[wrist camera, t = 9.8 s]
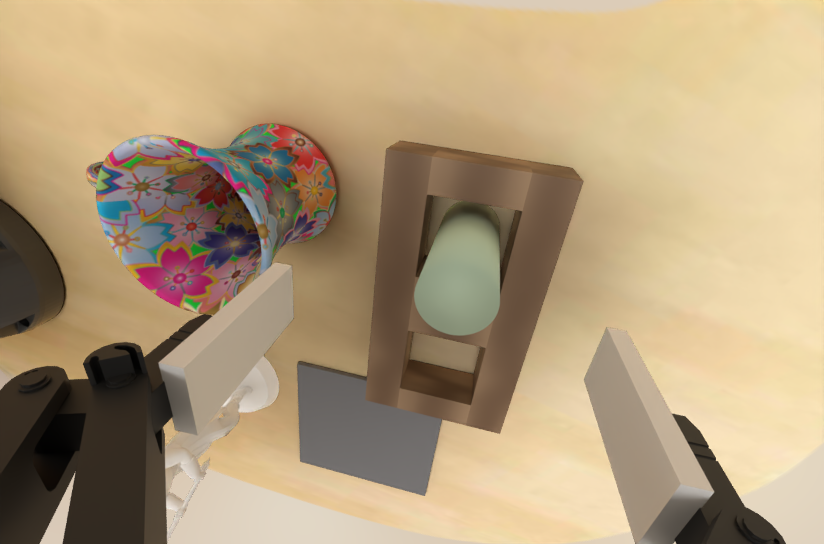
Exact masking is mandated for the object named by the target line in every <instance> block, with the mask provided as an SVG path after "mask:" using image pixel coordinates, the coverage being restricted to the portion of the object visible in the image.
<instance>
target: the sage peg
mask: <svg viewBox="0 0 824 544" xmlns="http://www.w3.org/2000/svg"><path fill="white" fill-rule="evenodd" d="M414 299H415V305H416V308H417V310H418V312H419V314H420V315H421V317H422V318H423V319H424V320H425V322H426V323H428V324H429V325H430V326H431V327H433V328H434V329H436V330H438V331H440V332H443V333H446V334H450V335H469V334H473V333H476V332H479V331H481V330H483V329H484V328H486V327H487V326H488V325H489V324H490V323H491V322H492V321H493V320H494V319H495V317H496V315H497V313H498V310H499V306H500V225H499V220H498V217H497V215H496V213H495V212H494V211H493V209H492V208H491V207H490V206H488V205H484V204H479V203H473V202H467V201H461V202H458V203H456V204H454V205H453V206H452V207H450V208H449V209H448V211H447V212H446V213H445V215H444V217H443V220H442V222H441V225H440V227H439V230H438V232H437V235H436V237H435V240H434V242H433V245H432V247H431V250H430V252H429V255H428V257H427V260H426V262H425V264H424V267H423V269H422V272H421V274H420V277H419V279H418V282H417V284H416V287H415V292H414Z"/></svg>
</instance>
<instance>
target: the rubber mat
mask: <svg viewBox="0 0 824 544" xmlns="http://www.w3.org/2000/svg"><path fill="white" fill-rule="evenodd" d="M297 369H298V402H299V436H300V462H304V463H307V464H311V465H315V466H318V467H322V468H326V469H329V470H333V471H336V472H340V473H344V474H347V475H351V476H354V477H358V478H362V479H365V480H369V481H372V482H376V483H380V484H383V485H387V486H391V487H394V488H398V489H401V490H405V491H409V492H412V493H416V494H419V495H423V496H425V493H426V489H427V484H428V480H429V475H430V471H431V466H432V462H433V457H434V453H435V448H436V444H437V439H438V434H439V430H440V425H441V421H442V419H439V418H435V417H431V416H427V415H423V414H419V413H415V412H411V411H407V410H403V409H399V408H395V407H391V406H387V405H383V404H379V403H375V402H371V401H367V400H365V396H366V384H367V377H362V376H358V375H354V374H350V373H346V372H342V371H338V370H334V369H329V368H325V367H321V366H317V365H313V364H309V363H305V362H300V361H299V362H298V364H297Z"/></svg>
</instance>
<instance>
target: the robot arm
mask: <svg viewBox="0 0 824 544" xmlns="http://www.w3.org/2000/svg"><path fill="white" fill-rule="evenodd" d="M63 301H64V289H63V283H62V279H61V276H60V273H59V270H58V268H57V265H56V263H55V261H54V259H53V257H52V256H51V254H50V252H49V251H48V249H47V247H46V246H45V245H44V243H43V242H42V240H41V239H40V238H39V236H38V235H37V234H36V233H35V232H34V230H33V229H32V228H31V227H30V226H29V225H28V224H27V223H26V222H25V221H24V220H23V219H22V218H21V217H20V216H19V215H18V214H17V213H16V212H14V211H13V210H12V209H11V208H10V207H8V206H7V205H6V204H4V203H3V202H2V201H0V338H3V337H7V336H12V335H16V334H20V333H23V332H26V331H29V330H31V329H34V328H35V327H37V326H39V325H41V324H43V323H45V322H47V321H49V320H51V319H52V318H54V317H55V316H56V315H57V314H58V313H59V311H60V310H61V308H62V305H63ZM293 319H294V306H293V276H292V265H287V264H281V263H276V262H275V263H274V264H273V265H272V266H271V267H269V268H268V269H267V270H266V271H265V272H264V273H262V274H261V275H260V276H259V277H258V278H257V279H255V280H254V281H253V282H252V283H251V284H250V285H248V286H247V287H246V288H245V289H244V290H243V291H241V292H240V293H239V294H238V295H237V296H236V297H234V298H233V299H232V300H231V301H230V302H229V303H227V304H226V305H225V306H224V307H223V308H222V309H220V310H219V311H218V312H217V313H216V314H215V315H213V316H211V315H206V314H204V315H201V316H199V317H197V318H195V319H192V320H190V321H189V322H187V323H186V324H185V325H184V326H183V327H181V328H180V329H179V331H178V332H177V331H176V332H175V333H174V334H173V335H171V336H170V338H169V339H166V340H165V341H164V342H163V343H161V344H160V345H159V346H158V347H157V348H155V349H154V350H153V351H152V352H150V353H149V354H148V355H147V356H145V357H143V353H142V350H141V347H140V346H138V345H136V344H135V343H128V342H123V343H114V344H111V345H107V346H104V347H102V348H100V349H98V350H96V351H94V352H93V353H91V354H90V355H89V356H88V357H86V359H85V361H84V363H83V365H84V368H85V371H86V373H87V376H88V379H75V380H69V379H68V377H67V375H66V373H65V371H64V369H62V368H60V367H57V366H45V367H40V368H35V369H32V370H29V371H26V372H24V373H22V374H20V375H18V376H16V377H14V378H12V379H11V380H10V381H9V382H8V383H7V384H6V385H4V387H3V388H2V389H1V390H0V544H39V543H40V541H41V539H42V537H43V535H44V533H45V531H46V529H47V527H48V525H49V523H50V521H51V519H52V517H53V515H54V513H55V511H56V509H57V507H58V505H59V503H60V501H61V499H62V497H63V495H64V493H65V491H66V489H67V487H68V485H69V483H70V481H71V479H72V477H73V475H74V473H75V471H76V473H75V479H74V484H73V490H72V496H71V501H70V506H69V512H68V517H67V523H66V528H65V534H64V539H63V544H167V524H166V523H167V520H166V476H165V434H164V430H163V426H164V425H165V424H166V423H167V422H168V421H169V420H170V419H171V418H172V419H173V423H174V427H175V430H177V431H181V432H185V433H189V434H193V435H197V436H198V435H199V434H200V432H201V431H202V430H203V429H204V428H205V426H206V425H207V424H208V423H209V421H210V420H211V419H212V418H213V417H214V415H215V414H216V413H217V412H218V410H219V409H220V408H221V407H222V406H223V404H224V403H225V402H226V401H227V399H228V398H229V397H230V396H231V395H232V393H233V392H234V391H235V390H236V388H237V387H238V386H239V385H240V384H241V382H242V381H243V380H244V379H245V377H246V376H247V375H248V374H249V373H250V371H251V370H252V369H253V368H254V366H255V365H256V364H257V363H258V362H259V360H260V359H261V358H262V357H263V355H264V354H265V353H266V352H267V350H268V349H269V348H270V347H271V346H272V344H273V343H274V342H275V341H276V339H277V338H278V337H279V336H280V335H281V333H282V332H283V331H284V330H285V328H286V327H287V326H288V325H289V324H290V322H291V321H292V320H293ZM584 381H585V385H586V388H587V391H588V394H589V397H590V401H591V404H592V407H593V410H594V413H595V417H596V420H597V423H598V426H599V429H600V433H601V436H602V439H603V442H604V445H605V449H606V452H607V455H608V458H609V461H610V464H611V468H612V471H613V474H614V477H615V480H616V484H617V487H618V490H619V493H620V496H621V500H622V503H623V506H624V509H625V512H626V516H627V519H628V522H629V525H630V528H631V532H632V535H633V538H634V541H635V544H673V543H674V542H676V544H786V543H785V541H784V539H783V537H782V536H781V535H780V534H779V533H778V531H777V530H776V529H775V528H774V527H773V526H772V525H771V524H770V523H769V522H768V521H767V520H765V519H764V518H763V517H761V516H760V515H759V514H757V513H755V512H754V511H752V510H750V509H748V508H746V507H745V506H744V504H743V503H742V501H741V499H740V498H739V496H738V494H737V493H736V491H735V489H734V488H733V486H732V484H731V483H730V481H729V479H728V478H727V476H726V474H725V472H724V471H723V469H722V467H721V466H720V464H719V462H718V461H716V457H715V456H714V454H713V452H712V451H711V449H709V448H708V447H709V446H708V444H707V442H706V441H705V439H704V437H703V436H702V434H701V432H700V431H699V430H698V429H697V428H696V427H695V426H694V425H693V424H692V423H691V422H690V421H689V420H688V419H687V418H686V417H685V416H681V415H676V414H672V413H671V411H670V409H669V408H668V406H667V404H666V402H665V400H664V398H663V397H662V395H661V393H660V391H659V389H658V387H657V386H656V384H655V382H654V380H653V378H652V376H651V375H650V373H649V371H648V369H647V367H646V365H645V363H644V362H643V360H642V358H641V356H640V354H639V352H638V351H637V349H636V347H635V345H634V343H633V341H632V340H631V338H630V336H629V334H628V332H627V331H624V330H619V329H614V328H609V327H607V328H606V330H605V332H604V335H603V337H602V339H601V341H600V344H599V346H598V348H597V351H596V353H595V355H594V357H593V360H592V362H591V364H590V366H589V369H588V371H587V373H586V376H585V378H584Z"/></svg>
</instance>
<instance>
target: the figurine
mask: <svg viewBox="0 0 824 544" xmlns="http://www.w3.org/2000/svg"><path fill="white" fill-rule="evenodd" d="M278 393H279V381H278V377H277V375H276V372H275V370H274V369H273V367H272V365H271V364H270V362H269V361H268V360H267V359H266V358H265V357H264V356H263V357H262V358H261V359H260V360H259V362H258V363H257V364H256V365H255V366H254V368H253V369H252V370H251V371H250V373H249V374H248V375H247V376H246V377H245V379H244V380H243V381H242V382H241V384H240V385H239V386H238V387H237V388H236V390H235V391H234V392H233V393H232V395H231V396H230V397H229V398H228V399H227V401H226V402H225V403H224V404H223V406H222V407H221V408H220V409H219V410H218V412H217V413H216V414H215V415H214V417H213V418H212V419H211V420H210V421H209V423H208V424H207V425H206V426H205V428H204V429H203V430H202V431H201V432H200V434H199V435H198V436H197V435H193V434H189V433H185V432H181V431H180V432H179V433H177V434H176V435H175V436H174V437H173V438H172V439H171V440H170V443H168V444H167V445H166V446H165V476H166V508H167V509H171V510H174V511H177V512H176V514H175V518H174V521H173V523H172V525H171V527H170V529H169V531H168V532H167V542H168V540H169V538H170V536H171V534H172V532H173V531H174V528H175V527H176V525H177V523H178V521H179V519H180V518H182V516H183V515H184V513H185V511H186V508H187V506H188V502H189V501H190V498H191V497H192V495H193V493H194V491H195V489H196V487H197V486H198V483H199V482H200V480H203V478H204V476H205V474H206V472H205V470H207V468H208V467H209V465H210V464H209V460H210V458H209V459H208V460H207V461H206V462H204V464H203V465H202V467H200V465H199V463H198V460H197V459H198V458H199V457H200V456H201V455H202V454H203V453H204V452H206V451H207V449H208V448H209V447H210V445H211V444H212V442H213V441H215V440H217V439H219V438H221V437H223V436H226V435H227V434H228V433H229V432H230V431H231V430H232V429H233V428H234V427H235V426H236V424H237V423H238V421H239V418H240V415H239V412H246V413H247V412H254V411H257V410H260V409H263V408H265V407H268V406H269V405H271V404H272V403H273V402H274V401H275V400H276V398H277V396H278ZM222 413H223V416H224V417H222V418H219V416H220V415H221V414H222ZM201 468H202V469H201ZM182 471H184V472H185V473H186V474H187V475H188V476H189V477H190V478H191V479H194V484H193V486H192V488H191V490H190V491H189V493H188V495H187V497H186V499H185V501H184V500H182V499H181V498H179V497H177V496H176V495H174V494H173V493H170V492H169V489H170V488H171V484H172V480H173V478H174V476H175V475H177V474H178V473H180V472H182Z"/></svg>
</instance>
